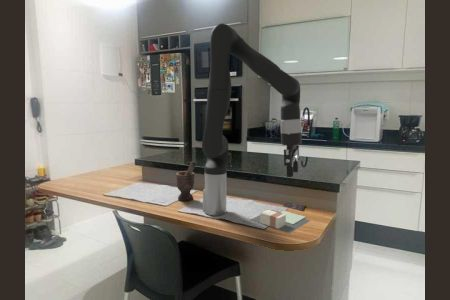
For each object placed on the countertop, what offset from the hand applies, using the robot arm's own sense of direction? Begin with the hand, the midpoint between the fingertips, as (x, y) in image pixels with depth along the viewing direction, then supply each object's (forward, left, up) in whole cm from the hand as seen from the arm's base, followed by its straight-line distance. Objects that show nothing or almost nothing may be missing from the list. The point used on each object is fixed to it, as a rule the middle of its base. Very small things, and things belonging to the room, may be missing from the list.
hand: (292, 174), depth 114 cm
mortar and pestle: (-51, -9, -20) cm, 55 cm away
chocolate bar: (-7, +12, -20) cm, 24 cm away
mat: (-4, -2, -19) cm, 20 cm away
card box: (-4, -7, -19) cm, 20 cm away
